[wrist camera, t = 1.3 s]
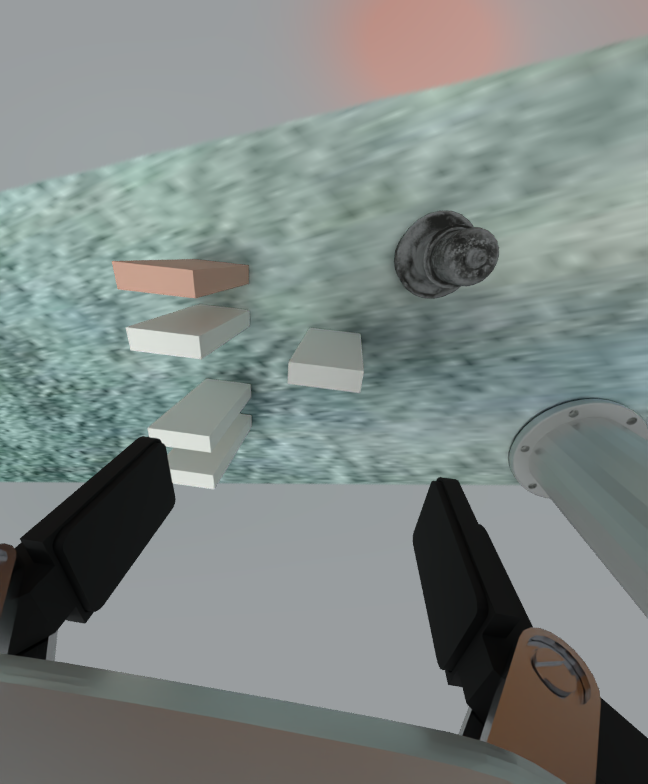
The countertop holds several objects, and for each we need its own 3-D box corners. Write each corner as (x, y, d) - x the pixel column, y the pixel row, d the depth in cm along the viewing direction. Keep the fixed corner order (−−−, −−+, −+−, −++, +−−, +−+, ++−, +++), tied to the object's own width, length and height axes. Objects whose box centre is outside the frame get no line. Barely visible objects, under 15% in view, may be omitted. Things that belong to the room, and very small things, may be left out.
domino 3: (251, 415, 33) (213, 475, 24) (251, 426, 34) (214, 489, 25) (209, 409, 33) (155, 467, 24) (210, 421, 34) (158, 481, 25)
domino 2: (250, 384, 31) (209, 436, 22) (251, 396, 32) (210, 452, 23) (206, 378, 31) (147, 427, 22) (207, 391, 32) (151, 444, 23)
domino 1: (249, 309, 27) (198, 336, 19) (249, 326, 28) (201, 359, 19) (199, 303, 28) (125, 327, 19) (201, 320, 28) (130, 350, 19)
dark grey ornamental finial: (411, 306, 26) (451, 342, 15) (377, 247, 24) (397, 241, 13) (473, 266, 24) (571, 274, 13) (443, 199, 22) (526, 146, 12)
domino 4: (360, 333, 27) (363, 371, 19) (357, 349, 28) (359, 393, 19) (309, 327, 28) (288, 361, 19) (308, 343, 28) (287, 383, 19)
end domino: (248, 265, 26) (192, 270, 17) (249, 283, 26) (195, 298, 17) (195, 259, 26) (111, 261, 17) (197, 277, 27) (117, 289, 18)
